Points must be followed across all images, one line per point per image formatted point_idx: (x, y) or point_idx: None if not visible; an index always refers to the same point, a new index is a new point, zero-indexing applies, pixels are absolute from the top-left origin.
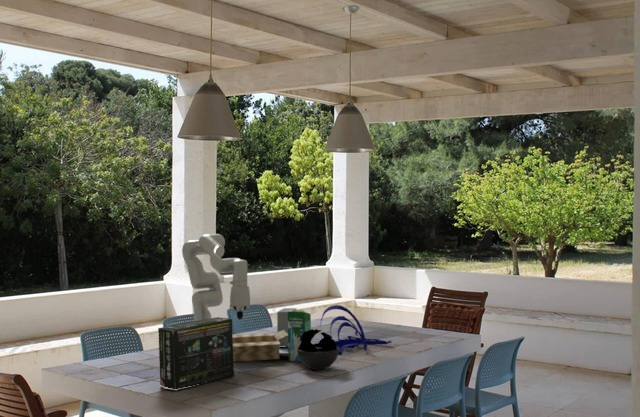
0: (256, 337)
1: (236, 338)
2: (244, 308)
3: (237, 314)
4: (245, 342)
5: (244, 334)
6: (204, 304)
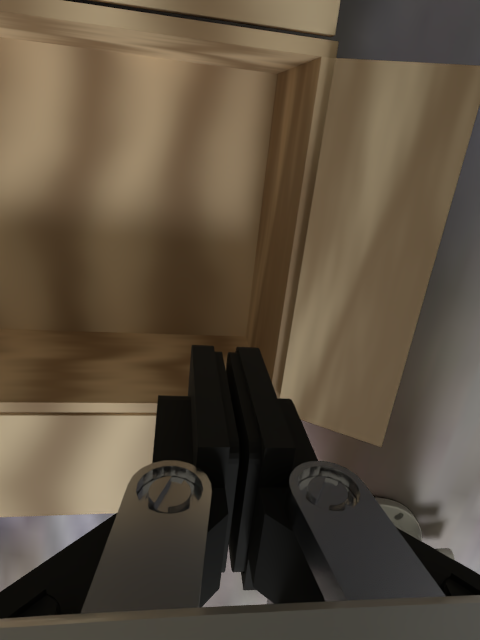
0: (9, 394)
1: None
2: (77, 577)
3: (297, 433)
4: (129, 374)
5: None
6: None
